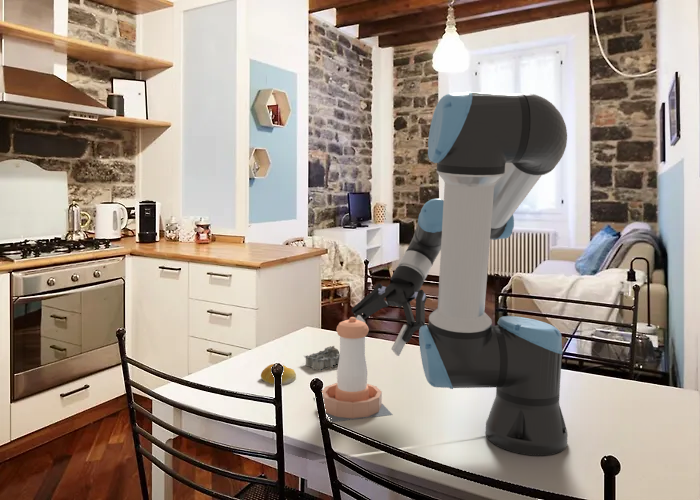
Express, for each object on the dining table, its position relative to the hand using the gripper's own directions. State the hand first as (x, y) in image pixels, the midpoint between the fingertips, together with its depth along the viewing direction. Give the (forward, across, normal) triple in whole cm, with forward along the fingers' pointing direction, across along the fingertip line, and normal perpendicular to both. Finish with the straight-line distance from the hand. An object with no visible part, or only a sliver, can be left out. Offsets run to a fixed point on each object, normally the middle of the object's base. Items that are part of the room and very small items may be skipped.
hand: (371, 346), depth 126 cm
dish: (+13, 0, -4) cm, 14 cm away
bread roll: (+13, +26, -5) cm, 29 cm away
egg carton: (+1, +26, -17) cm, 31 cm away
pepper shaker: (+13, 0, -3) cm, 13 cm away
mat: (+14, 0, -4) cm, 14 cm away
